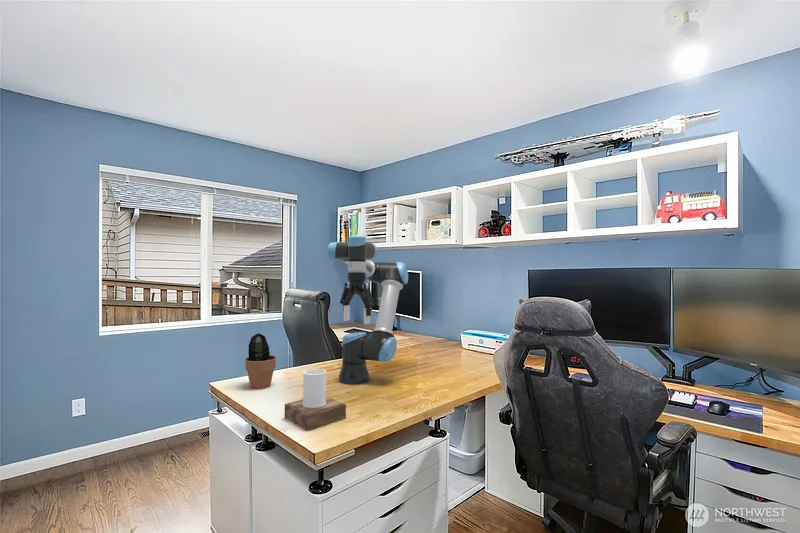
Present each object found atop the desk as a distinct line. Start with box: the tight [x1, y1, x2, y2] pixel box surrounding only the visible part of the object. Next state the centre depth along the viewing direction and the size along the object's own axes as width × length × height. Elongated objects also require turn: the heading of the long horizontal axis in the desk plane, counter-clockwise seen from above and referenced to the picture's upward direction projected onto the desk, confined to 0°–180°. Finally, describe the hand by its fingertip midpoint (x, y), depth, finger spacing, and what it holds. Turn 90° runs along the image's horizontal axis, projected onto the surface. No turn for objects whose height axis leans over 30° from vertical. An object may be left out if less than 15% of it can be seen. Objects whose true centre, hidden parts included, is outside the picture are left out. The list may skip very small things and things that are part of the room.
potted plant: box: [244, 332, 277, 390], centre depth 180 cm, size 14×14×25 cm
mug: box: [302, 368, 327, 408], centre depth 142 cm, size 12×8×12 cm
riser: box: [284, 395, 347, 431], centre depth 142 cm, size 16×16×5 cm
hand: (356, 322), depth 162 cm, fingers open, 13 cm apart
